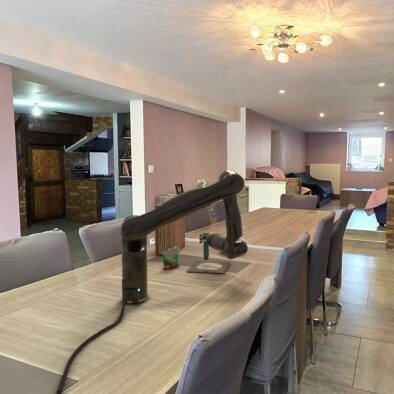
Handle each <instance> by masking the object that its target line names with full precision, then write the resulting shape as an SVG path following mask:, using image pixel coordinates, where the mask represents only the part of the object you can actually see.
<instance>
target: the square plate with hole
mask: <svg viewBox="0 0 394 394" xmlns="http://www.w3.org/2000/svg"><path fill="white" fill-rule="evenodd" d="M230 264H231V262H229V261H228V262H227V261H208V260H203V261H202V260H197V261H196V262H195V263H194V264H193V265H192V266H191V267H190V268H189V269H188V270H187V273H192V274H211V275H212V274H213V275H224V274H225V272H226V271H227V269H228V267H229V266H230Z"/></svg>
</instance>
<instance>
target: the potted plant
mask: <svg viewBox="0 0 394 394" xmlns="http://www.w3.org/2000/svg"><path fill="white" fill-rule="evenodd" d="M180 252H181V249H179V247H178V246H176V245H173V247H172V248H168V249H167V250H163V252H162V255H161V256H162V264H163V270H172V269H176V268H178V265H179V254H180Z"/></svg>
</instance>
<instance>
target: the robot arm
mask: <svg viewBox="0 0 394 394" xmlns="http://www.w3.org/2000/svg"><path fill="white" fill-rule="evenodd" d="M244 187H245V179H244V178H243V176H242V175H241V174H239V173H238V172H237V171H234V170H232V169H225V170H223V171H222V172H221V173H220V174H219V176H218V180H217V182H214V183H213V184H210V185H208V186H203V187H198V188H193V189H188V190H186V191H184V192H181V193H179V194H177V195H174V196H173V197H171V198H169V199H167V200H165V201H164V202H165V203H163V204H162V205H160V206H159V207H157V208H156V209H155V208H153V209H152V210H150V211H148V212H145V213H143V214H140V215H137V214H132V215H129V216H127V217H125V218H124V219H123V221H122V223H121V225H120V236H121V277H122V278H121V301H122V306H121V310H120V313H119V316H118V318H117V320H116V321H114V322H113V323H111V324H109V325H108V326H105V327H104V328H102V329H100V330H99V331H97V332H96V333H94V334H92V335H91V336H89V337H88V338H87V339H86V340H84V341H83V342H82V343H81V344H80V345H79V346H78V347H77V348H76V349H75V350H74V352H73V353H72V354H71V356H70V357H69V358H68V360H67V363H66V364H65V367H64V370H63V373H62V375H61V378H60V381H59V384H58V387H57V390H56V394H61V393H62V391H63V388H64V385H65V382H66V379H67V375H68V374H69V373H68V372H69V371H70V367H71V365H72V362H73V361H74V359H75V358H76V356H77V355H78V353H79V352H80V351H81V349H83V348H84V347H85V346H86V345H87V344H89V342H91V341H93V340H94V339H95V338H97V337H99V336H100V335H101V334H103V333H104V332H106V331H108V330H110V329H112V328H113V327H115V326H117V325H118V324H119V323H120V322H121V320H122V318H123V316H124V312H125V308H126V306H127V304H128V305H129V304H130V305H139V304H141V303H143V302H145V301H147V300H148V299H149V288H148V287H149V286H148V285H149V283H148V235H150V234H151V233H153V232H155V230H157V229H159V228H160V227H162V226H165V225H167V224H170V223H173V222H175V221H177V220H180V219H182V218H184V217H185V218H187V217H189V216H191V215H193V214H195V213H197V212H199V211H200V210H203V209H205V208H207V207H210V206H211V205H212V204H215V203H217V202H220V201H222V202H223V208H224V210H223V211H224V218H225V228H226V229H225V233H226V236H225V235H223V234H220V233H217V232H215V233H212V234H209V236H208V235H205V236H204V235H203V233H201V234H199V236H198V237H199V240H198V241H199V244H203V242H205V243H208V244H209V248H212V249H213V250H215V251H218V252H221V253H223V254H224V256H225V257H226V259H228V260H234V259H237V258H240V257H242V256H245V255H246V254H247V253H248V251H249V247H248V244H247V243H246V242H245V240H244V241H243V240H240V239H239V238H242V237H243V233H244V232H243V220H242V215H241V212H240V211H241V210H240V207H239V204H238V203H239V202H238V194H239V193H241V192H242V191H243V189H244Z"/></svg>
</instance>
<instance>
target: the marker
mask: <svg viewBox="0 0 394 394" xmlns="http://www.w3.org/2000/svg"><path fill="white" fill-rule="evenodd" d="M202 235H204V236H205V235H208V236H209V232H203V233H202ZM202 244H203V245H202V246H203V261H208V260H209V257H210V246H209V244H208V243H205V242H203V243H202Z"/></svg>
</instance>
